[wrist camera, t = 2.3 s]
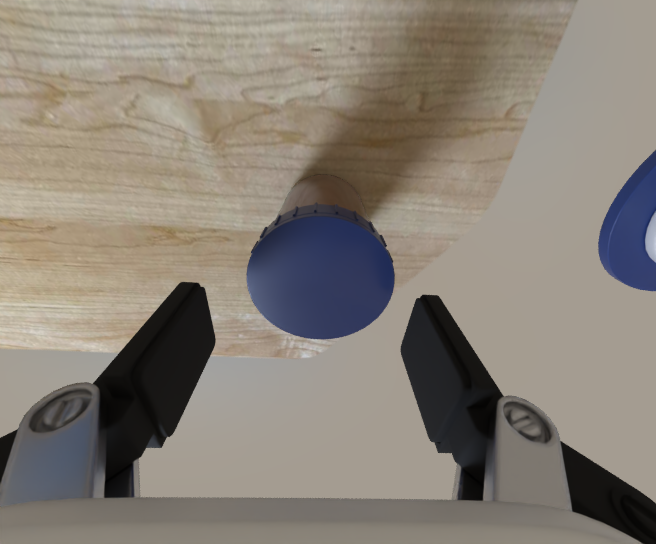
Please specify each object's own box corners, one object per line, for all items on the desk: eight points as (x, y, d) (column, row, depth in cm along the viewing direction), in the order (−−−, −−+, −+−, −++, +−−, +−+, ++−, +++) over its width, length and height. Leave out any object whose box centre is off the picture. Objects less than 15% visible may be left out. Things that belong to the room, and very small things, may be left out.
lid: (402, 208, 12) (412, 221, 10) (375, 322, 15) (380, 343, 14) (248, 196, 11) (237, 208, 10) (258, 315, 15) (251, 336, 14)
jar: (369, 177, 19) (401, 223, 11) (357, 254, 22) (374, 332, 14) (282, 170, 19) (248, 212, 11) (283, 249, 22) (258, 326, 14)
